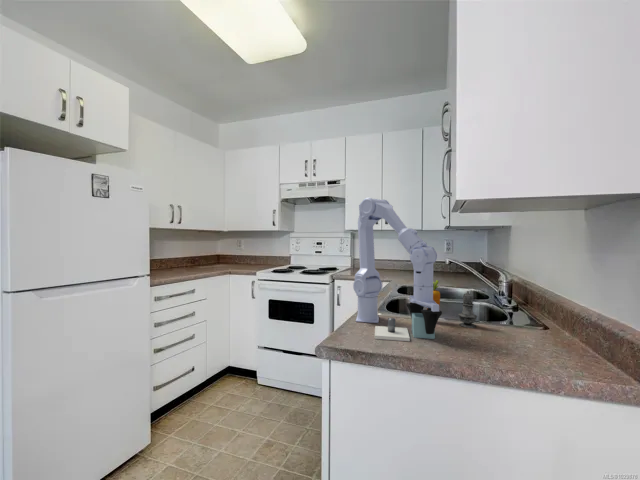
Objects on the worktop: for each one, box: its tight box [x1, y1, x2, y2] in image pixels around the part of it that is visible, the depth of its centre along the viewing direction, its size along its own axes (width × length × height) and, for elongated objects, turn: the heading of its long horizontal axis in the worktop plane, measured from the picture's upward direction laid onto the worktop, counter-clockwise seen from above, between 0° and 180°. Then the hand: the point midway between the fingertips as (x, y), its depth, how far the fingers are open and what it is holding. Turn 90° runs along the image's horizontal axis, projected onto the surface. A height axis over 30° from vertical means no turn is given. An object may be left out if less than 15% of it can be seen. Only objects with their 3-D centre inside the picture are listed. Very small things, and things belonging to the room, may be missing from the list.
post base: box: [374, 317, 411, 342], centre depth 93 cm, size 10×10×5 cm
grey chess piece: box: [458, 290, 478, 329], centre depth 104 cm, size 6×6×12 cm
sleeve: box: [411, 313, 436, 340], centre depth 94 cm, size 6×6×6 cm
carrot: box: [426, 279, 441, 310], centre depth 108 cm, size 5×5×15 cm
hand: (423, 329), depth 94 cm, fingers closed on sleeve, 7 cm apart
